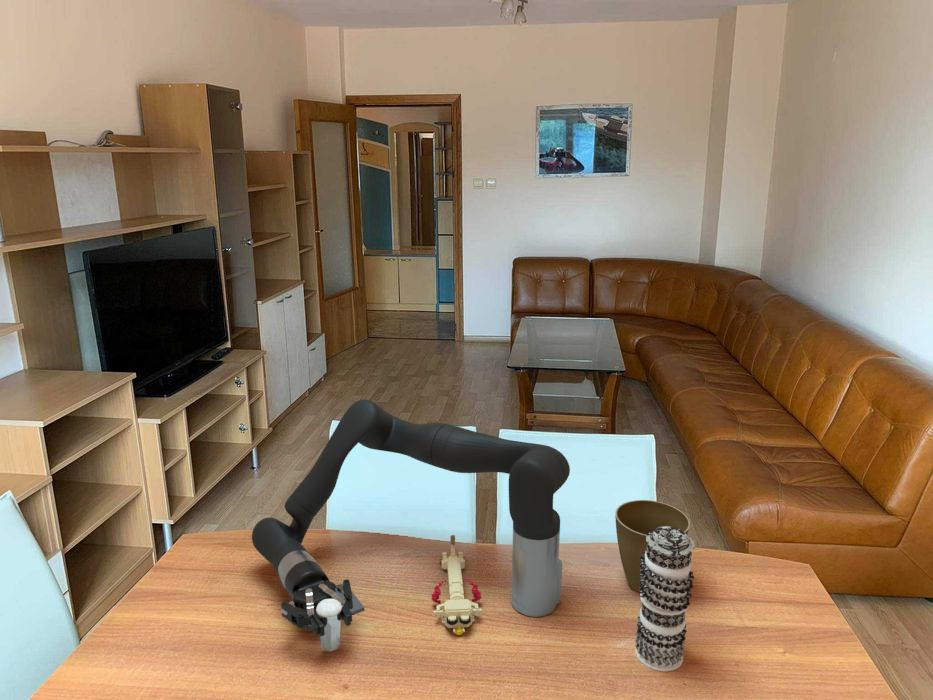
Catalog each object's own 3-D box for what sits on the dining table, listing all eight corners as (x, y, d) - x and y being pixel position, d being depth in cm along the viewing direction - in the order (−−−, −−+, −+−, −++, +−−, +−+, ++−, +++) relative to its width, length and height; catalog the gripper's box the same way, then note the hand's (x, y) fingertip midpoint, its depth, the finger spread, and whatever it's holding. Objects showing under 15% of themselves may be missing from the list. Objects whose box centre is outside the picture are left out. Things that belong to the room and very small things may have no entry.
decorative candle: (628, 636, 128) (637, 519, 121) (677, 637, 128) (689, 520, 121) (638, 672, 120) (649, 548, 113) (691, 673, 119) (705, 549, 112)
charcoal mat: (346, 586, 143) (346, 584, 143) (364, 610, 136) (364, 607, 136) (291, 606, 137) (291, 603, 137) (306, 632, 130) (306, 629, 129)
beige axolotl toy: (430, 569, 152) (432, 637, 127) (429, 532, 150) (432, 595, 125) (474, 567, 152) (485, 635, 128) (474, 531, 150) (485, 593, 126)
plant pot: (646, 615, 134) (652, 544, 130) (596, 576, 147) (600, 510, 142) (698, 591, 142) (706, 523, 137) (646, 556, 154) (652, 493, 149)
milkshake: (344, 654, 122) (343, 607, 119) (315, 653, 122) (313, 606, 119) (349, 637, 126) (348, 591, 124) (320, 636, 126) (318, 590, 124)
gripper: (265, 572, 129) (295, 623, 115) (335, 549, 137) (371, 594, 123) (268, 606, 131) (298, 659, 117) (337, 581, 139) (373, 629, 125)
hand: (335, 626), depth 120 cm, fingers closed on milkshake, 4 cm apart
